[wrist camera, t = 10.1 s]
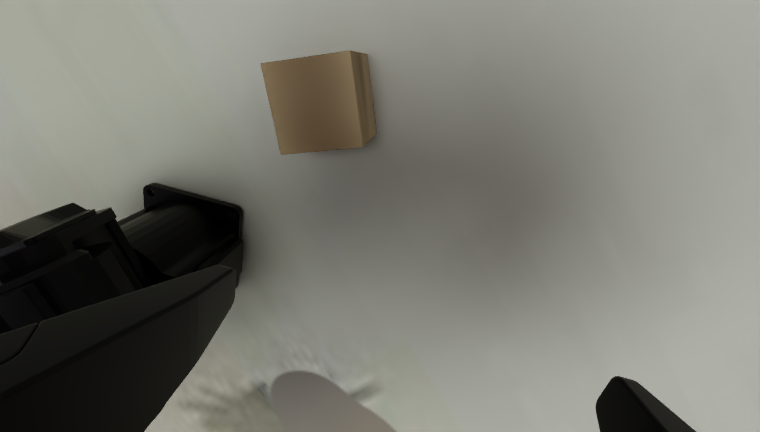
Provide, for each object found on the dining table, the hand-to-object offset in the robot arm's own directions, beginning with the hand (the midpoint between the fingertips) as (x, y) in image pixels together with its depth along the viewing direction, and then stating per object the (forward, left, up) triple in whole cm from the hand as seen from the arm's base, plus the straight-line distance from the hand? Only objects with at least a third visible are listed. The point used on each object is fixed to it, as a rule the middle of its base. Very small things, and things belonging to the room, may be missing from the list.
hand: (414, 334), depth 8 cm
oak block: (-6, +3, -13) cm, 15 cm away
